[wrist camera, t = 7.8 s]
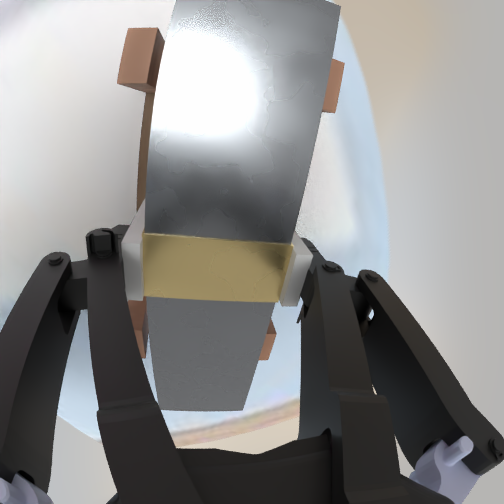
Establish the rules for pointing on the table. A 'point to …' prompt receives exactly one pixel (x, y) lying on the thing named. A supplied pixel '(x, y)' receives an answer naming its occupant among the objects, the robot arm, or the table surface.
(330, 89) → the stove stand
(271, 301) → the grey metal bar
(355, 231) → the table surface
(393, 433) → the robot arm
